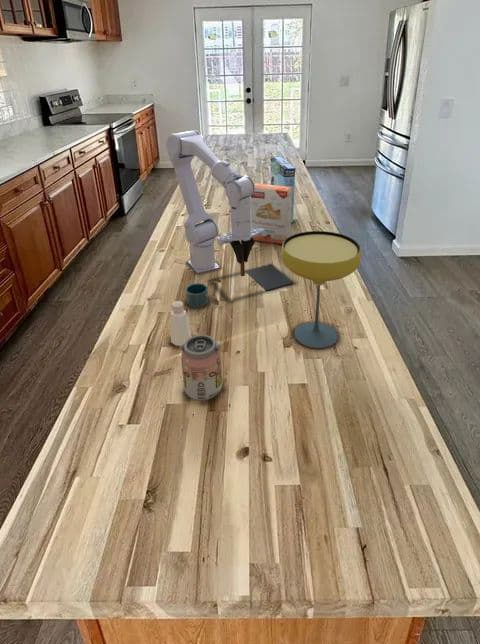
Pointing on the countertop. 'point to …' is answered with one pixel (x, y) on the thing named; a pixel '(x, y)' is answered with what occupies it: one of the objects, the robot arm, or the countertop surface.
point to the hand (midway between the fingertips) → (242, 261)
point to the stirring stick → (242, 264)
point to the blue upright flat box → (283, 176)
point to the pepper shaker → (179, 324)
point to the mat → (269, 277)
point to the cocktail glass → (320, 273)
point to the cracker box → (271, 212)
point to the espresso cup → (197, 295)
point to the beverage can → (201, 367)
